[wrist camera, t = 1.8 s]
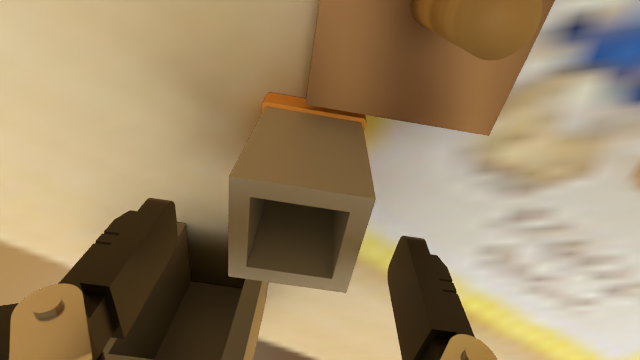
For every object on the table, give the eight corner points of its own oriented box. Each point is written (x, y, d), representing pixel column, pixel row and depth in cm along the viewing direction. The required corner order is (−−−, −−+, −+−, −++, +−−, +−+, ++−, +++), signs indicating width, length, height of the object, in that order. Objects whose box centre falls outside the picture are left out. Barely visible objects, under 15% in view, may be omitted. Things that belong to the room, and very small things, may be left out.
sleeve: (364, 108, 17) (383, 195, 10) (344, 188, 20) (349, 296, 13) (267, 92, 17) (222, 169, 10) (261, 174, 20) (223, 279, 13)
